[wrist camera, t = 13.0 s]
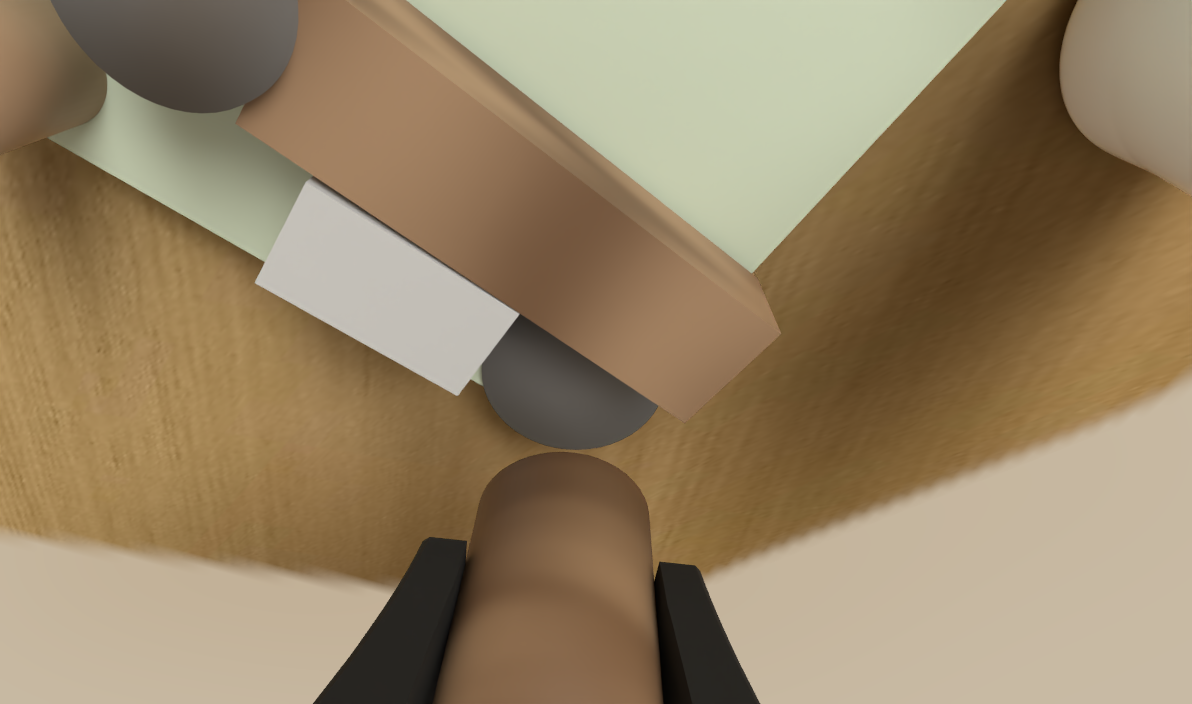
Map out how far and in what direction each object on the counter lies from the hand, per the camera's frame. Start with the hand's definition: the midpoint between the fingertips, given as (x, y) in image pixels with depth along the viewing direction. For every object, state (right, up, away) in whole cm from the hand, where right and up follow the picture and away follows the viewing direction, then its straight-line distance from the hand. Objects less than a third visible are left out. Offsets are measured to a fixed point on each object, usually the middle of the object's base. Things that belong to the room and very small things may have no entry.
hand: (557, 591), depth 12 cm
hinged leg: (-2, +8, +2) cm, 9 cm away
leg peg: (0, +1, +1) cm, 2 cm away
